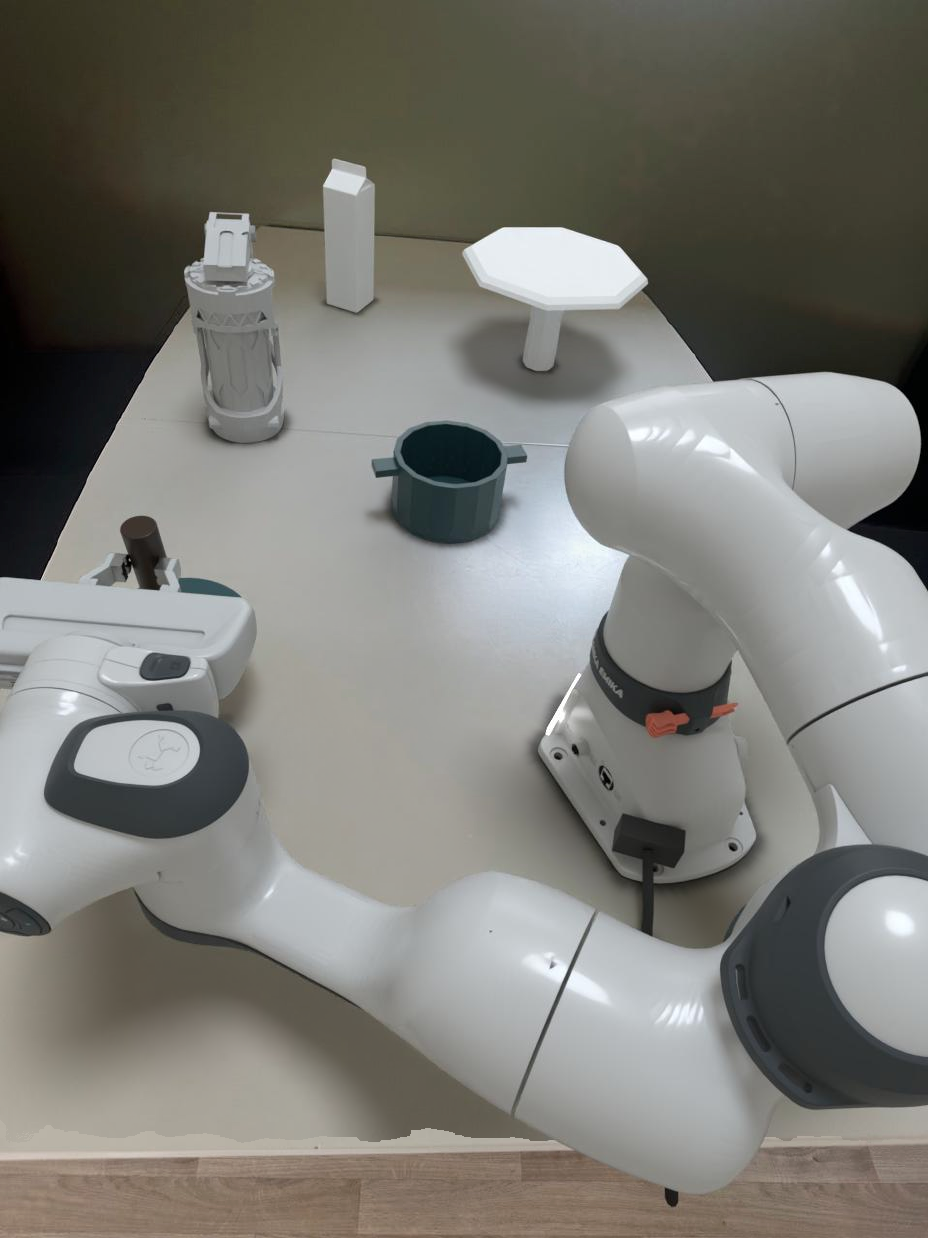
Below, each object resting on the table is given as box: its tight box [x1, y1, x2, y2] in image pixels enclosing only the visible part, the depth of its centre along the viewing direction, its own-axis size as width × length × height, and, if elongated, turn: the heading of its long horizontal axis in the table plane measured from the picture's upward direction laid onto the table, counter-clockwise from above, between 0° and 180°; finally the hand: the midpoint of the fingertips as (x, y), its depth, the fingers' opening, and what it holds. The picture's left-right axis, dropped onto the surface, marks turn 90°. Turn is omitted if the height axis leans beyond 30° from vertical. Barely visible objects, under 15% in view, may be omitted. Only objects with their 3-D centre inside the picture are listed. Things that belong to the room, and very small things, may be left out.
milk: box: [322, 158, 376, 314], centre depth 130 cm, size 6×6×22 cm
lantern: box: [183, 211, 286, 444], centre depth 102 cm, size 13×10×25 cm
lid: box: [119, 515, 243, 598], centre depth 69 cm, size 15×15×14 cm
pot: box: [371, 420, 528, 544], centre depth 99 cm, size 14×19×8 cm
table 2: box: [461, 226, 649, 372], centre depth 124 cm, size 28×28×17 cm
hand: (146, 561), depth 66 cm, fingers closed on lid, 3 cm apart
